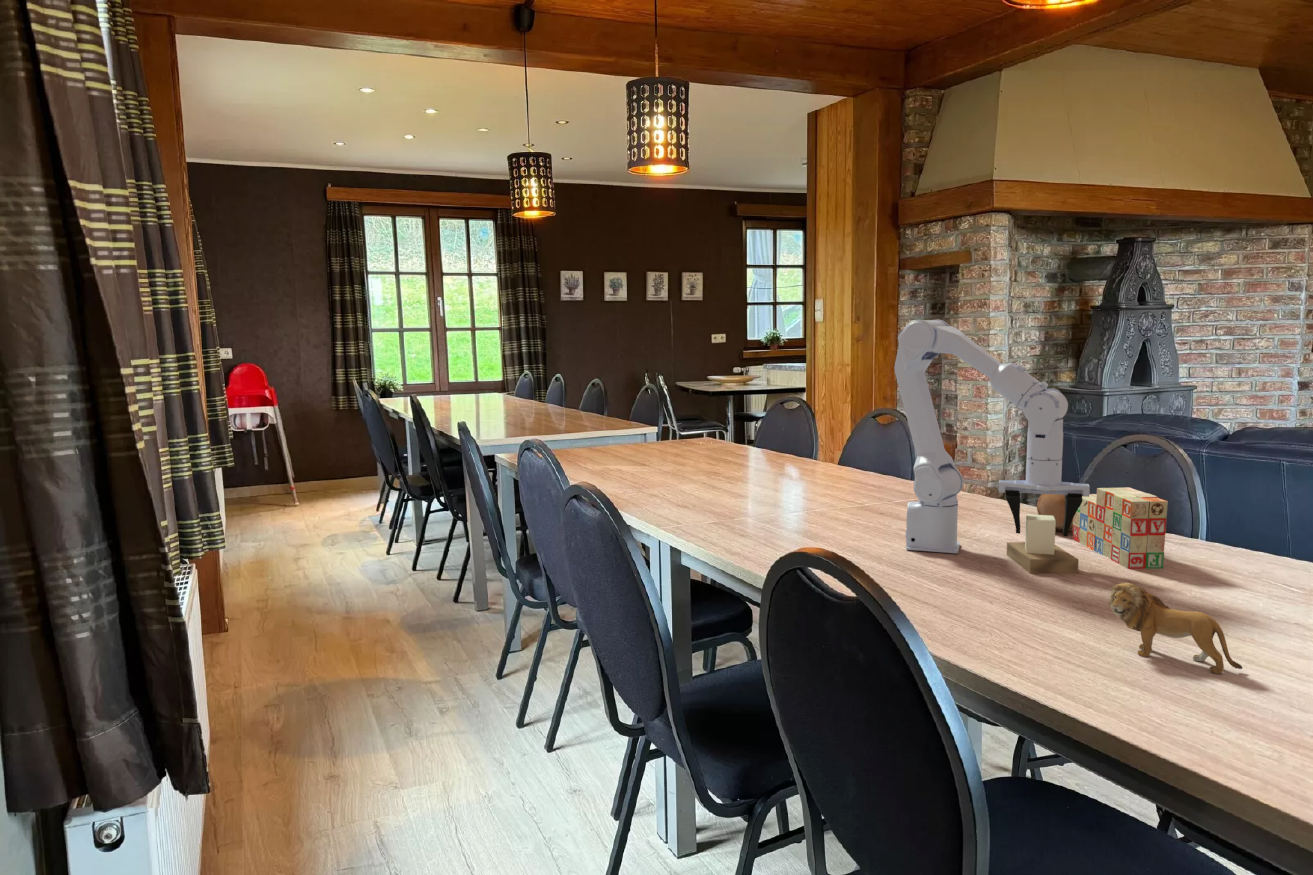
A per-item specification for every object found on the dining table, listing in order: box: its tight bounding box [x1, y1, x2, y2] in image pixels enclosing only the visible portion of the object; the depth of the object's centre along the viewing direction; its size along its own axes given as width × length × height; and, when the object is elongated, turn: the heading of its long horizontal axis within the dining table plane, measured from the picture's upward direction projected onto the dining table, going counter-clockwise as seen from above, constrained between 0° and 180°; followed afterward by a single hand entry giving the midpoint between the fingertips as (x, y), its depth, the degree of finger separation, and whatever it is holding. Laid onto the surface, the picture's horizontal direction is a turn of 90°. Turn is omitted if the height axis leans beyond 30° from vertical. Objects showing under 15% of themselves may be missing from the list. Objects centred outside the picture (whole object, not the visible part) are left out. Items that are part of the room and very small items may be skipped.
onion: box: [1036, 490, 1073, 532], centre depth 172 cm, size 10×9×10 cm
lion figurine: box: [1108, 582, 1243, 675], centre depth 105 cm, size 15×5×9 cm, turn 51°
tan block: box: [1006, 541, 1079, 575], centre depth 149 cm, size 8×12×3 cm, turn 175°
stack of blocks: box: [1072, 486, 1169, 570], centre depth 155 cm, size 21×6×12 cm, turn 178°
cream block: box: [1024, 513, 1056, 555], centre depth 148 cm, size 4×4×6 cm
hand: (1041, 533), depth 148 cm, fingers open, 7 cm apart
